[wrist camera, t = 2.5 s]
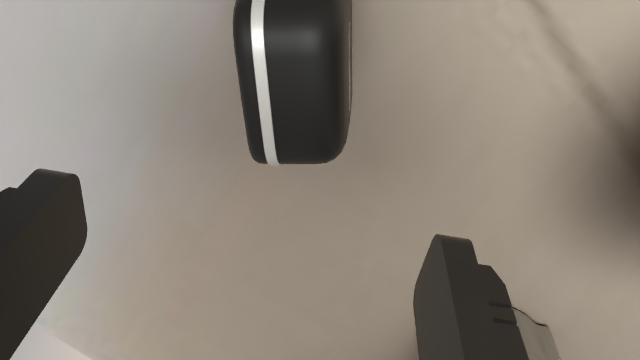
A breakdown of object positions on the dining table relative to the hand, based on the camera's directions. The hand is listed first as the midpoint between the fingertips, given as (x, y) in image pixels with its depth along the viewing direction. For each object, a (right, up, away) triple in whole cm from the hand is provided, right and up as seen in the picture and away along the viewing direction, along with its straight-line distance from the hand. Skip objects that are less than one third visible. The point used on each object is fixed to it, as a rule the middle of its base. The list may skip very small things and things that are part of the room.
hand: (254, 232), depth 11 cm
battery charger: (+1, +10, +15) cm, 19 cm away
